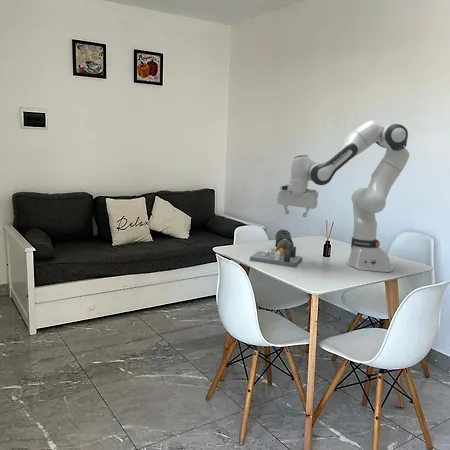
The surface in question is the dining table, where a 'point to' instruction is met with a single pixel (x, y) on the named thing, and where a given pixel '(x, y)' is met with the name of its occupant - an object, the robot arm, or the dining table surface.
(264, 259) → the panel
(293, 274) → the dining table surface
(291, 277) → the dining table surface
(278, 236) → the muzzle brake
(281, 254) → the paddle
